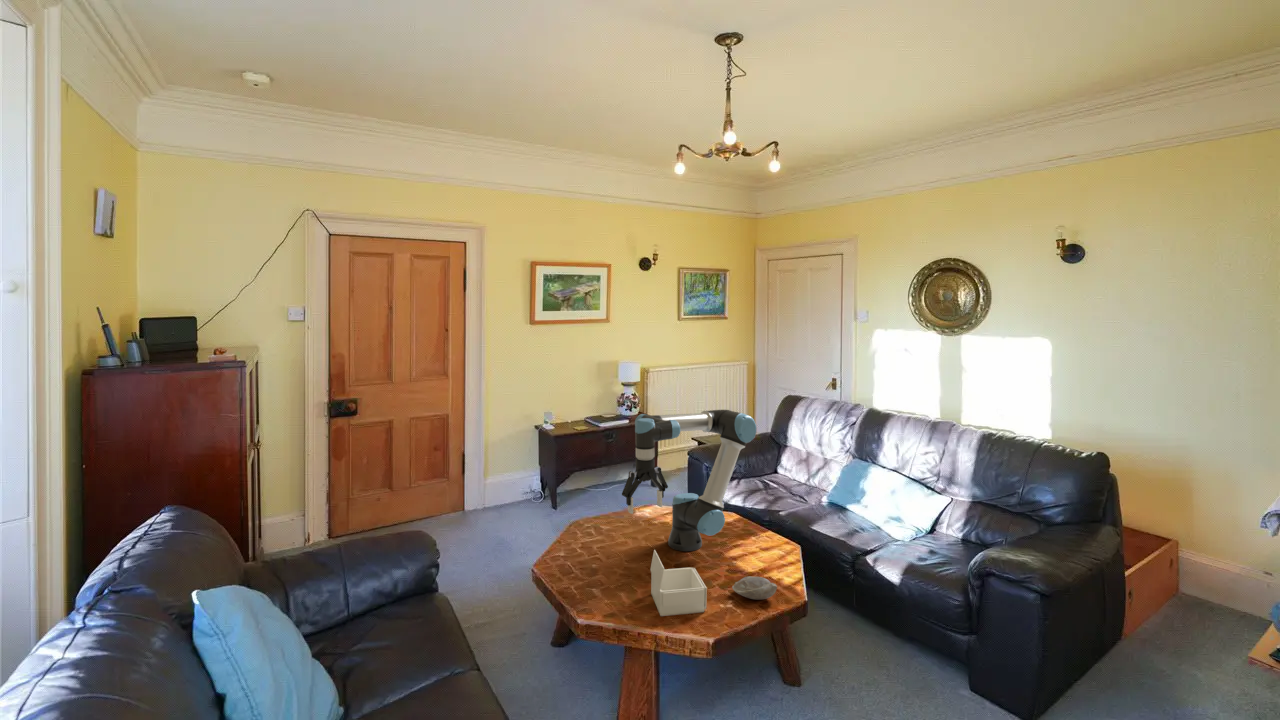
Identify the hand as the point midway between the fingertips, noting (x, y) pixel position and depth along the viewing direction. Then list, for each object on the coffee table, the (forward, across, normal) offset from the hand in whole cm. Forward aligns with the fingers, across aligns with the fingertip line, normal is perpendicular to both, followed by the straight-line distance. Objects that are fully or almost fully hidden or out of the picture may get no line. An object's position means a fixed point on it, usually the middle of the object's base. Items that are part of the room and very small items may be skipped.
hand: (645, 509), depth 239 cm
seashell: (+27, -24, +37) cm, 52 cm away
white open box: (+27, +2, +26) cm, 37 cm away
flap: (+13, +9, +23) cm, 28 cm away
